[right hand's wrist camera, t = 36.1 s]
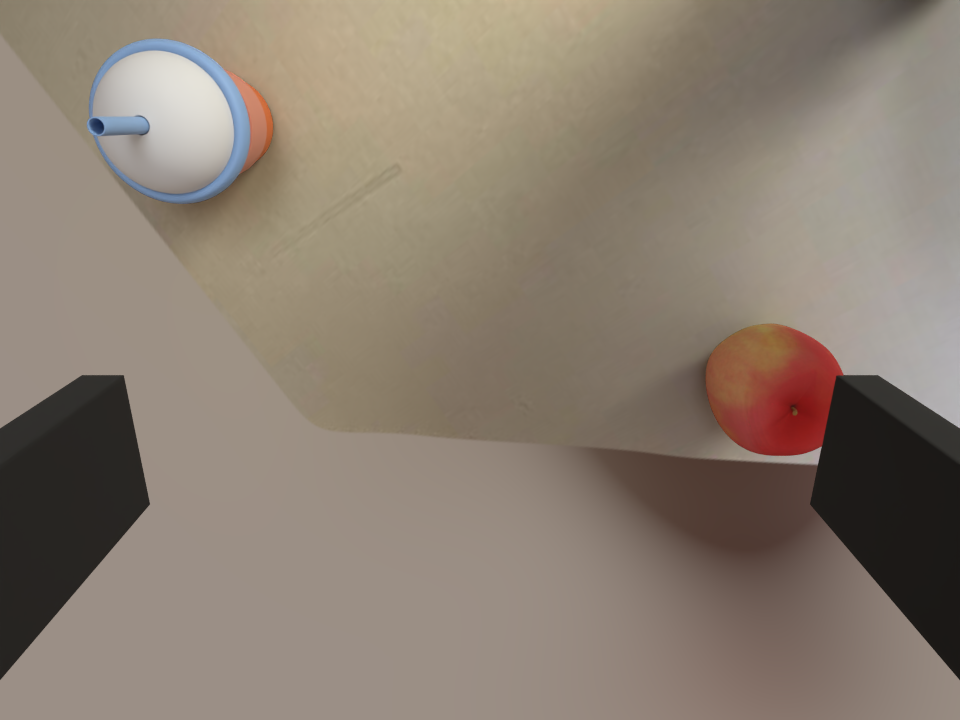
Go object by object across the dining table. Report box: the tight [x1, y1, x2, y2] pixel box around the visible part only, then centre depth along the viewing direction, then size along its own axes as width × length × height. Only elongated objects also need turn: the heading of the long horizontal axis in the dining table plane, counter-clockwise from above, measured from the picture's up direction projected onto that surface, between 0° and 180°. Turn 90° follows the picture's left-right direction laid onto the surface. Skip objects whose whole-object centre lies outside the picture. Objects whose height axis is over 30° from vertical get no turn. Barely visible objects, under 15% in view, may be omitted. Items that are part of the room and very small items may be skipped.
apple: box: [706, 324, 843, 456], centre depth 50 cm, size 10×10×10 cm
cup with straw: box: [87, 39, 273, 204], centre depth 39 cm, size 9×9×18 cm
